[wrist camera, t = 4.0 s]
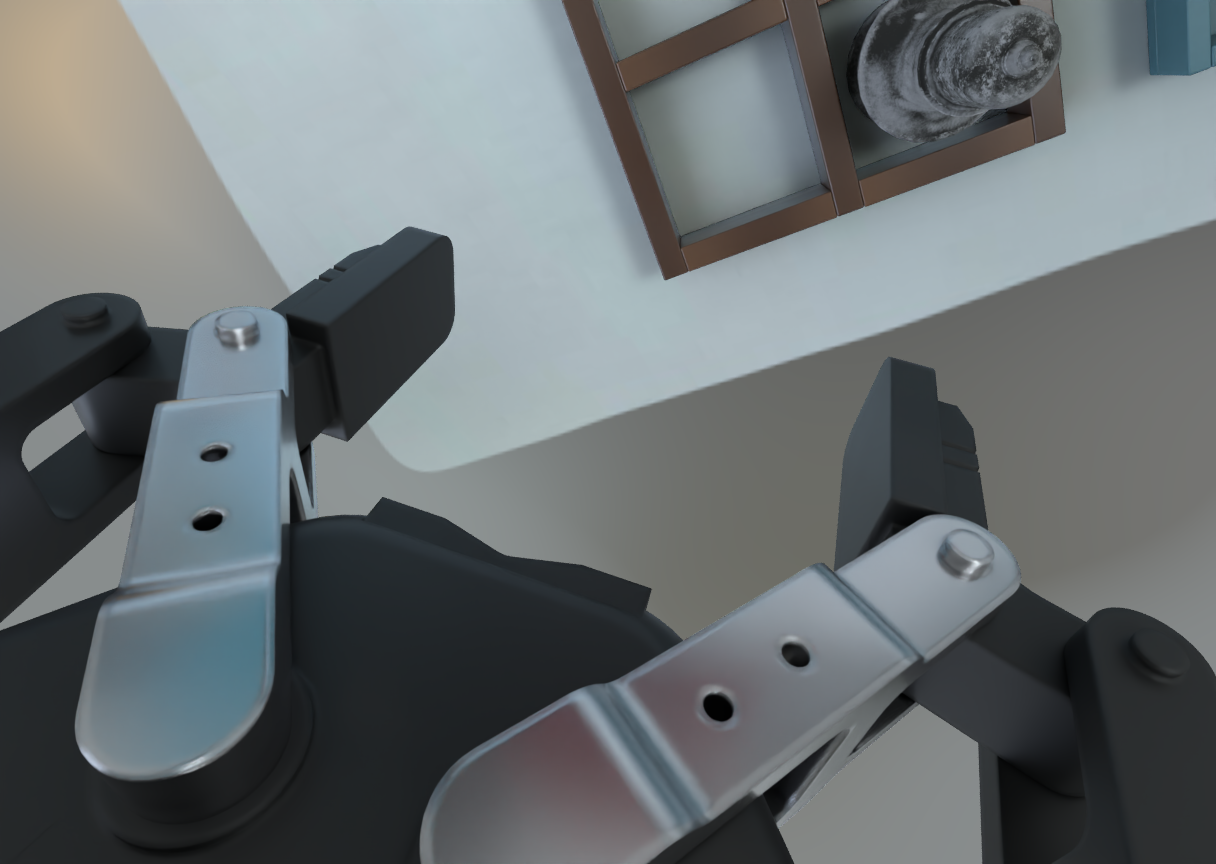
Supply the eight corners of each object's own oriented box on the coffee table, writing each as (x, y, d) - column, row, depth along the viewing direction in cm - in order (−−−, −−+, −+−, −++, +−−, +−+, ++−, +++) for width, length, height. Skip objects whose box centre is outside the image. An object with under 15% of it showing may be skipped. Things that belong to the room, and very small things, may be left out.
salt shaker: (978, 121, 31) (1134, 149, 20) (841, 146, 32) (922, 185, 21) (986, -34, 28) (1172, -96, 17) (837, -3, 29) (928, -43, 18)
